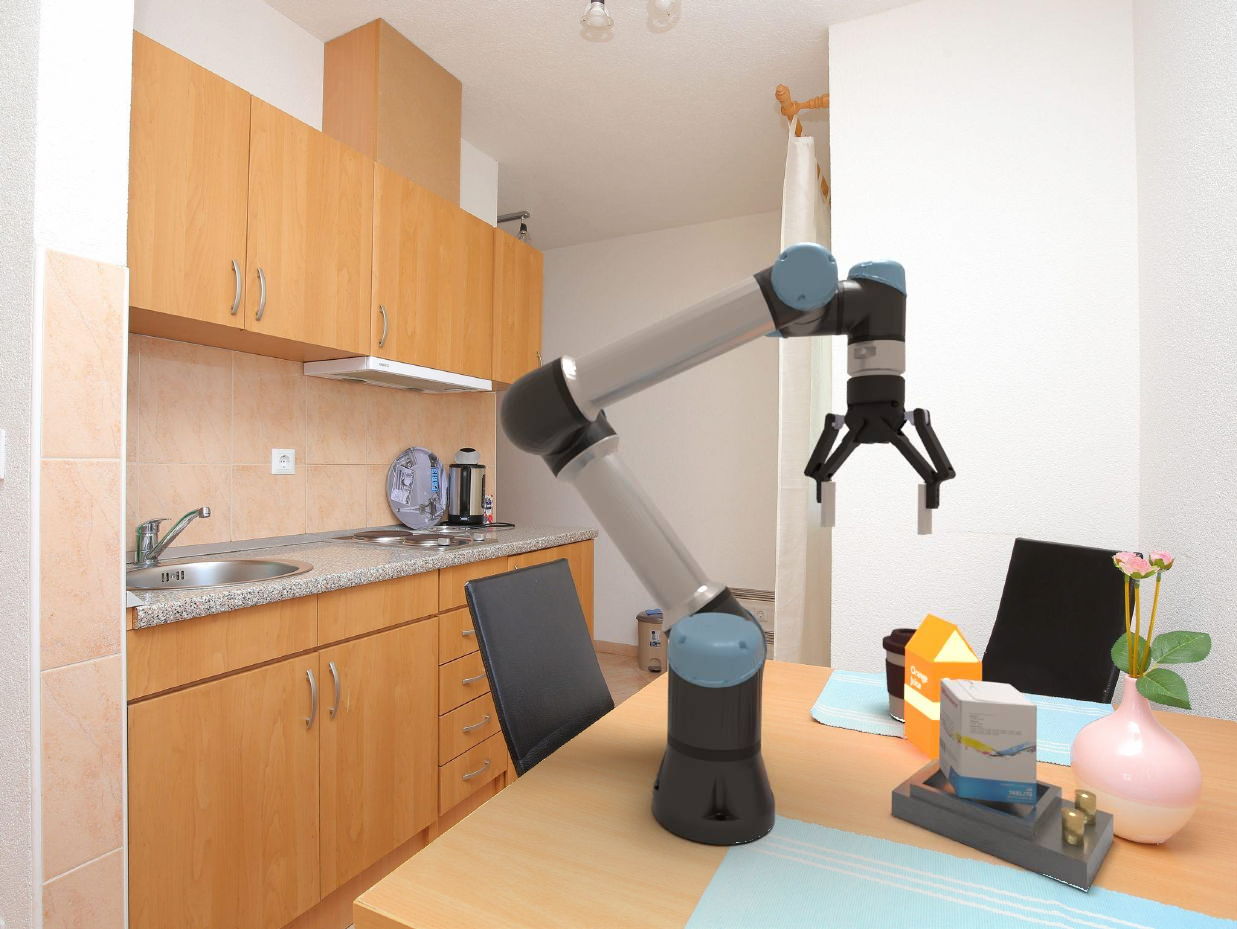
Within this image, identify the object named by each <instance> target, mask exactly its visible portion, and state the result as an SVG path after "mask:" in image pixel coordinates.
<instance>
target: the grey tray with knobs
mask: <svg viewBox="0 0 1237 929" xmlns="http://www.w3.org/2000/svg"><path fill="white" fill-rule="evenodd" d="M1062 793H1063V788H1062V786H1058V785H1056V784H1052V783H1048V782H1046V781H1042V780H1039V779H1037V780H1036V805H1029V804H1019V803H1009V802H999V801H990V800H981V799H971V798H963V797H959V796H958V795H957V793H956V792H955V790H954V788H953V787H952V786H951V784H950V782H949V781H948V779H947V778H946V776H945V775H944V773H943V772H942V770H941V769H940V767H939V759H936V758H934V759H933V760H931V761H929V762H928V763H926V764H925V765H924V766H922V767H921V768H920V769H919V770H917V771H915V773H913V774H912V775H911V776H910V777H908V778H907V779H906V780H904V781H903V782H901V783H900V784H898V786H896V787H895V788H894V789H892V790H891V816H893V817H895V818H897V819H900V820H902V821H906V822H908V823H910V824H913V825H916V826H918V827H921V828H923V829H926V830H928V831H931V832H933V833H936V834H939V835H940V836H943V837H946V838H947V839H948V838H949V839H951V840H953V841H954V842H955V841H956V842H958V843H961V844H963V845H966V846H969V847H970V848H974V849H976V850H978V851H981V852H984V853H986V854H988V855H991V856H994V857H996V858H999V859H1001V860H1004V861H1005V862H1009V863H1011V864H1014V865H1016V866H1018V867H1021V868H1024V869H1026V870H1029V871H1031V872H1034V873H1036V874H1038V875H1041V874H1045V875H1048V876H1051V877H1053V878H1056V879H1059V880H1061V881H1065V882H1067V883H1068V884H1072V885H1075V886H1078V887H1080V888H1083V889H1084V890H1087V889H1088V887H1089V886H1090V887H1091V885H1092V883H1093V881H1094V879H1095V877H1096V875H1097V873H1098V871H1099V869H1100V867H1101V865H1102V863H1103V861H1104V860H1105V858H1106V856H1107V854H1108V852H1109V850H1110V848H1111V846H1112V844H1113V842H1114V813H1113V814H1112V813H1110V812H1106V811H1104V810H1100V809H1097V796H1096V794H1095V793H1094V792H1091V791H1088V790H1085V789H1075V790H1074V801H1071V800H1068V799H1065V798H1063V797H1062V796H1063V794H1062ZM1090 887H1089V888H1090ZM1088 890H1089V889H1088Z"/></svg>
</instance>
